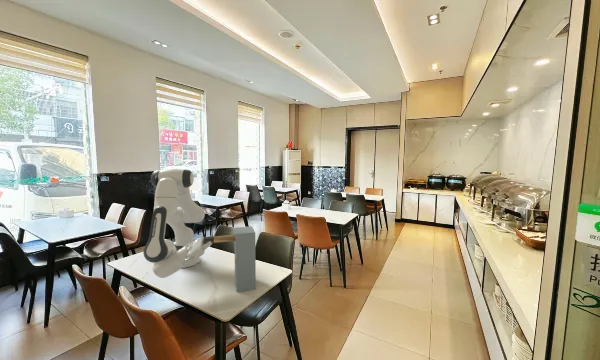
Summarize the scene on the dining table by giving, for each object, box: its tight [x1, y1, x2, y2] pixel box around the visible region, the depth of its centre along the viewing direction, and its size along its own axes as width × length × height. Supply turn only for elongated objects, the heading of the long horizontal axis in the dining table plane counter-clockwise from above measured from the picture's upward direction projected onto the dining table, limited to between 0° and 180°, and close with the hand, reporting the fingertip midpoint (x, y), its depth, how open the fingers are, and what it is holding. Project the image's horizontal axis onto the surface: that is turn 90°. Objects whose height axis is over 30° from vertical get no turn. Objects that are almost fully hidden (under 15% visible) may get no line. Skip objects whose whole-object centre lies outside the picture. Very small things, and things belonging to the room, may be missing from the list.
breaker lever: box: [203, 234, 235, 244], centre depth 130 cm, size 3×16×3 cm, turn 109°
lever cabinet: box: [233, 226, 257, 293], centre depth 135 cm, size 13×11×31 cm
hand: (211, 239), depth 128 cm, fingers open, 8 cm apart
